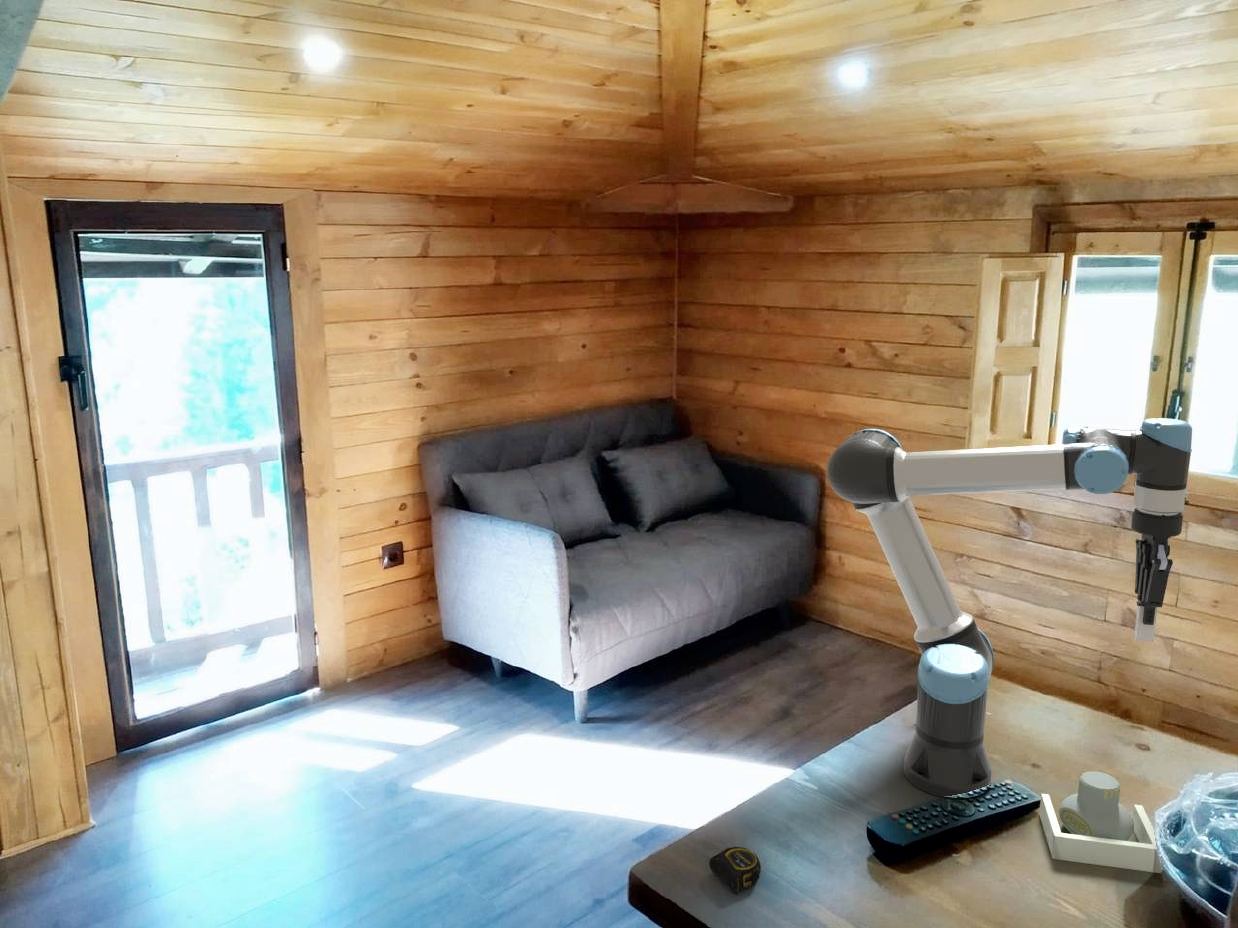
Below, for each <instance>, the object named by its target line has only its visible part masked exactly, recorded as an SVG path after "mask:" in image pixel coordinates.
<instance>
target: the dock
mask: <svg viewBox="0 0 1238 928" xmlns="http://www.w3.org/2000/svg"><path fill="white" fill-rule="evenodd" d="M1132 810H1133V812H1132V819H1133V822H1134V832H1133V833H1134V834H1135V837H1136V838H1137V841H1138V842H1137V841H1129V840H1127V841H1122V840H1114V839H1106V838H1098V837H1091V836H1083V835H1075V834H1071V833H1065V832H1062V831H1061V827H1060V824H1059V822H1058V818H1057V815H1056V811H1055V809H1054V806H1053V803H1052V800H1051V796H1050V794H1048V793H1041V794H1040V803H1039V818H1040V822H1041V824H1042V828H1043V832H1044V835H1045V839H1046V842H1047V844H1048V848H1049V851H1050V855H1051V859H1052V860H1057V861H1058V860H1059V861H1065V862H1067V861H1068V862H1074V863H1082V864H1088V865H1097V866H1104V867H1111V868H1118V869H1127V870H1132V871H1133V870H1135V871H1140V872H1149V873H1156V874H1162V869H1163V866H1162V867H1161V863H1160V859H1159V856H1158V852H1157V847H1156V841H1155V835H1154V832H1155V833H1156V830H1155V829H1154V827H1153V824H1152V823H1151V820H1150V819H1149V817H1148V814H1147V812H1146V811H1145V808H1144V806H1143V805H1141V804H1133V809H1132Z"/></svg>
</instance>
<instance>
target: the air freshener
mask: <svg viewBox="0 0 1238 928" xmlns="http://www.w3.org/2000/svg"><path fill="white" fill-rule="evenodd" d="M1078 781H1079V782H1078V789H1077V793H1073V794H1071V795H1068V796H1067V797H1066V798H1064V799H1063V801H1062V802H1061V803H1060V805H1059V809H1058V817H1059V820H1060V822H1061V823H1062V824H1063V826H1064V828H1065V829H1066V830H1067V831H1068V832H1069V834H1075V835H1083V836H1091V837H1098V838H1106V839H1114V840H1122V841H1129V839H1131V837H1132V836H1133V834H1134V833H1135V832H1134V822H1133V816H1132V815H1131V814H1130V812H1129V811H1128V810H1127V808H1125V806H1123V805H1122V804H1121V803H1120V791H1121V784H1120V782H1119V781H1118V780H1117V779H1116V778H1115V777H1114V776H1112V775H1110V774H1108V773H1105V772H1103V771H1093V770H1091V771H1086V772H1084V773H1082V774H1080V776H1079V780H1078Z"/></svg>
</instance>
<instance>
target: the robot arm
mask: <svg viewBox="0 0 1238 928" xmlns="http://www.w3.org/2000/svg"><path fill="white" fill-rule="evenodd" d="M1062 433H1063V434H1062V441H1061V443H1057V444H1056V443H1055V444H1041V445H1040V444H1039V445H1026V446H1025V445H1024V446H1003V447H1001V446H1000V447H986V448H969V449H967V448H965V449H949V450H948V449H947V450H932V451H913V452H912V451H910V452H906V451H905V450H903V448H902V446H901V443H900V442H899V441H898V439H897V438H896V437H895V436H893V435H892V434H891V433H889V432H888V431H885V430H882V429H878V428H866V429H862V430H858V431H856V432H854V433H853V434H850V435H849V436H847V438H845V439H844V441H843V442H842V444H840V445H839V446H838V447H836V448H835V449H834V451H833V452H832V454H831V455H830V457H829V459H828V462H827V466H826V475H827V480H828V483H829V486H830V488H831V490H832V491H834V493H835V494H836V495H837V496H838V497H840V498H841V499H843V500H845V501H847V502H849V503H852V504H853V507H854V509H855V511H856V512H858V513H861V514H865V515H866V516H867V518H868V520H869V522H870V525H871V527H872V529H873V531H874V533H875V536H876V539H877V540H878V542H879V544H880V546H881V550H882V552H883V554H884V555H885V559H886V560H887V562H888V564H889V567H890V569H891V571H892V574H893V575H894V578H895V579H896V582H897V584H898V586H899V588H900V591H901V593H902V595H903V597H904V601H905V602H906V604H907V606H908V608H909V610H910V613H911V615H912V617H913V619H914V621H915V625H916V626H917V628H916V630H915V631H914V634H913V638H914V641H915V644H916V645H917V647H918V649H919V652H920V654H921V657H920V660H919V664H918V667H917V677H918V686H917V700H916V701H917V702H916V703H917V704H916V716H915V717H916V718H915V732H914V734H913V737H912V739H911V741H910V744H909V745H908V748H907V750H906V752H905V755H904V759H903V774H904V776H905V778H906V780H907V781H909V783H911V784H912V785H913V786H915V787H916V788H918V789H920V790H921V791H924V792H925V793H928V794H931V795H934V796H937V797H941V796H952V795H957V794H962V793H967V792H970V791H973V790H976V789H979V788H982V787H985V786H987V785H989V784H991V785H992V775H993V774H992V768H991V763H990V761H989V757H988V753H987V750H986V746H985V744H984V739H985V738H984V737H985V726H986V725H985V724H986V712H987V711H986V710H987V700H988V695H989V694H988V693H989V692H988V691H989V687H990V681H991V677H992V676H991V675H992V671H993V669H994V665H995V664H994V663H995V659H994V657H995V655H994V651H993V647H992V644H991V642H990V640H989V638H988V637H987V635H986V634H985V633H984V631H982V630H981V629H980V628H978V625H977V623H976V621H975V619H974V617H973V615H972V614H970V613H967V612H966V611H963V610H961V608H960V606H959V604H958V601H957V598H956V597H955V594H954V593H953V591H952V588H951V585H950V584H949V582H948V579H947V578H946V575H945V573H944V570H943V568H942V566H941V564H940V562H939V559H938V558H937V554H936V553H935V550H934V549H933V546H932V544H931V542H930V540H929V538H928V536H927V534H926V531H925V528H924V526H923V524H922V522H921V519H920V518H919V516H918V514H917V511H916V509H915V507H914V504H913V502H912V500H911V496H913V497H915V496H934V495H935V496H937V495H938V496H939V495H960V494H961V495H964V494H987V493H988V494H989V493H993V494H994V493H1016V492H1044V491H1066V490H1067V491H1068V490H1070V491H1072V490H1073V491H1074V490H1077V491H1078V490H1084V491H1087V492H1089V493H1091V494H1093V495H1108V494H1111V493H1114V492H1115V491H1117V490H1119V489H1121V488H1122V486H1123V485H1124V484H1125V482H1126V480H1127V478H1128V475H1136V479H1135V483H1134V484H1135V485H1134V493H1133V502H1132V503H1133V504H1132V505H1133V506H1134V509H1132V515H1131V524H1130V525H1131V526H1130V527H1131V529H1132V530H1133V531H1134V532H1136V533H1137V534H1140V535H1141V538H1140V537H1139V538H1136V539H1135V550H1136V551H1135V552H1136V554H1135V555H1136V556H1135V557H1136V558H1135V577H1134V578H1135V579H1134V581H1135V583H1134V593H1135V595H1137V597H1136V599H1137V601H1136V606H1137V608H1136V616H1135V626H1134V634H1133V635H1134V639H1135V640H1136V641H1146V642H1154V641H1155V630H1156V625H1157V623H1156V622H1157V614H1158V608H1163V605H1164V599H1165V594H1166V590H1167V585H1168V580H1169V577H1170V576H1169V575H1170V572H1171V569H1172V567H1173V564H1174V561H1173V559H1171V558H1169V556H1170V553H1171V546H1170V544H1169V539H1170V538H1172V537H1178V536H1179V535H1181V534H1182V531H1183V522H1184V514H1183V513H1182V512H1183V510H1184V509H1185V502H1186V500H1185V498H1189V495H1190V493H1189V491H1187V485H1188V484H1187V483H1188V478H1189V470H1190V461H1191V454H1192V439H1193V438H1192V437H1193V427H1192V425H1191V424H1189V423H1188V422H1187V421H1185V420H1181V419H1177V418H1175V419H1174V418H1165V417H1159V418H1157V417H1156V418H1154V417H1152V418H1146V419H1144V420H1142V422H1141V427H1140V428H1139V429H1134V430H1131V429H1130V430H1128V429H1112V428H1100V427H1099V428H1098V427H1096V428H1095V427H1088V426H1083V427H1067V428H1066V429H1065V428H1064V431H1063V432H1062Z"/></svg>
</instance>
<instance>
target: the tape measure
mask: <svg viewBox="0 0 1238 928" xmlns="http://www.w3.org/2000/svg"><path fill="white" fill-rule="evenodd" d="M708 865H709V866H708V867H709V869H710V871H711V872H712V873H713V874H714V875H715V876H716V877H718V878H719V879H720V880H721V881H722V882H723V883H724V884H725V885H726V886H727V887H728V888H729V889H730V890H731V891H732V892H733V893H735V894H737V893H740V892H742V890H743V889H748V888H751V887H753V886H754V885H756V883H757V882H758V880H759V879H760V877H761V876H760V875H761V869H762V867H761V861H760V859H759V857H758V855H757V854H756V853H755V852H754V851H752V850H750V849H749V848H746V847H741V846H732V847H727V848H724V849H723V850H722V851H720V852H719V853H718V854H715V855H713V856H711V858H710V859H709V863H708Z"/></svg>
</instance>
